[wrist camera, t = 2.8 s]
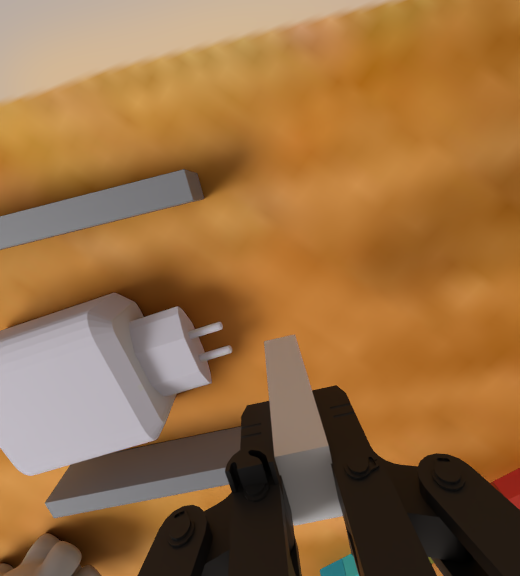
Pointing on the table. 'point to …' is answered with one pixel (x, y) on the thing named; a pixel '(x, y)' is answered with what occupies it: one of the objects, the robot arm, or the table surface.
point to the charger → (94, 380)
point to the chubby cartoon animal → (50, 560)
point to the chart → (344, 571)
